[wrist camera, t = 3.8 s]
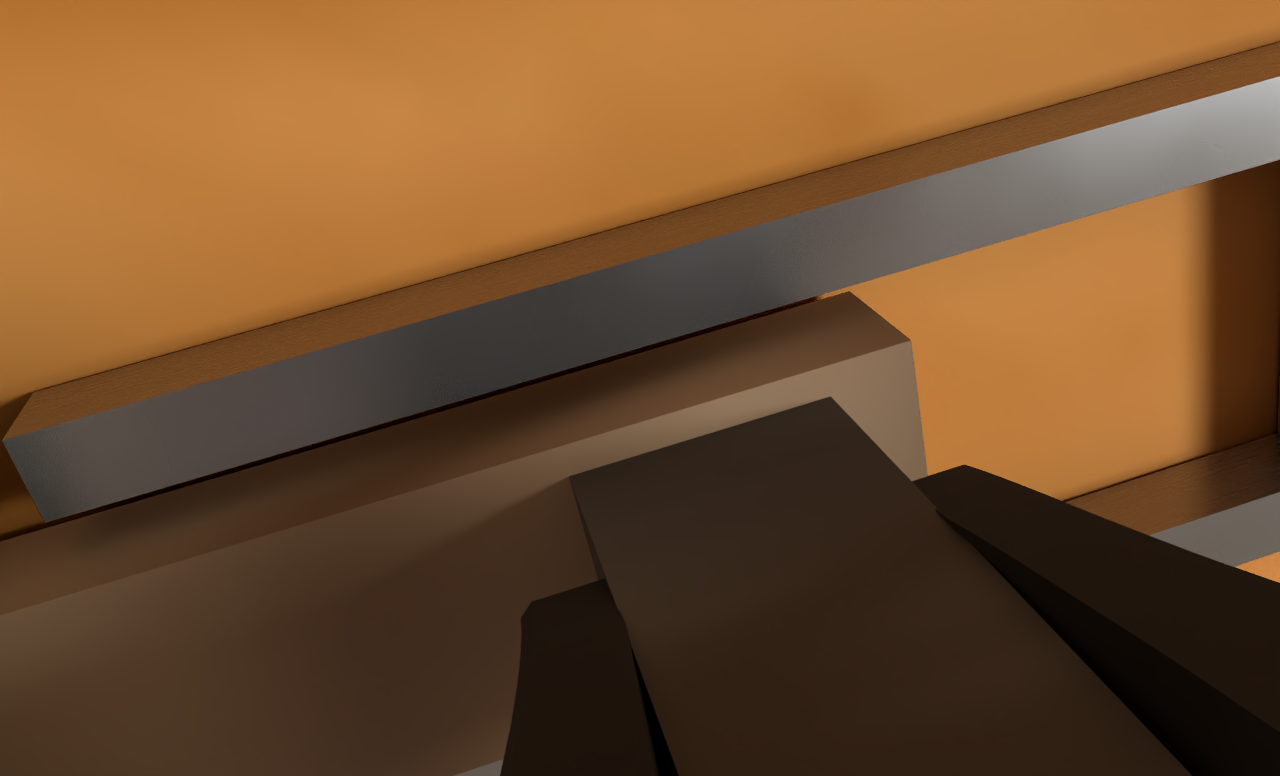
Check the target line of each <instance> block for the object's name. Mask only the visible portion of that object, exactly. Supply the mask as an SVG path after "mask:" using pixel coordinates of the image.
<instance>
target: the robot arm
mask: <svg viewBox="0 0 1280 776" xmlns="http://www.w3.org/2000/svg"><path fill="white" fill-rule="evenodd" d="M912 482H913V483H914V484H915V485H916V486H917V487H918V488H919V490H920V491H921V492H922V493H923V494H924V495H925V496H926V497H927V498H928V499H929V500H930V501H931V502H932V503H933V504H934V505H935V506H936V507H937V508H938V509H935V510H936V511H937V513H938V514H939V515H940V516H941V517H942V518H943V519H944V520H945V521H946V522H947V523H948V524H949V525H950V526H951V527H952V528H953V529H954V530H955V531H956V532H958V533H959V534H960V535H961V536H962V537H963V538H965V539H966V540H967V541H968V542H969V543H971V544H972V545H973V546H974V547H975V548H976V549H977V550H978V551H979V552H980V554H981V555H982V556H983V557H984V558H985V559H986V560H987V561H988V562H989V563H990V564H991V565H992V566H993V567H994V568H995V569H996V570H997V571H998V572H999V573H1000V574H1001V576H1002V577H1003V578H1004V579H1005V580H1006V581H1007V582H1008V583H1009V584H1010V585H1011V586H1012V587H1013V588H1014V589H1015V590H1016V591H1017V592H1018V593H1019V594H1020V595H1021V597H1022V598H1023V599H1024V600H1025V601H1026V602H1027V603H1028V604H1029V605H1030V606H1031V607H1032V608H1033V609H1034V610H1035V611H1036V612H1037V613H1038V614H1039V615H1040V616H1041V618H1042V619H1043V620H1044V621H1045V622H1046V623H1047V624H1048V625H1049V626H1050V627H1051V628H1052V629H1053V630H1054V631H1055V632H1056V633H1057V634H1058V635H1059V636H1060V637H1061V639H1062V640H1063V641H1064V642H1065V643H1066V644H1067V645H1068V646H1069V647H1070V648H1071V649H1072V650H1073V651H1074V652H1075V653H1076V654H1077V655H1078V656H1079V657H1080V658H1081V659H1082V661H1083V662H1084V663H1085V664H1086V665H1087V666H1088V667H1089V668H1090V669H1091V670H1092V671H1093V672H1094V673H1095V674H1096V675H1097V676H1098V677H1099V678H1100V679H1101V680H1102V682H1103V683H1104V684H1105V685H1106V686H1107V687H1108V688H1109V689H1110V690H1111V691H1112V692H1113V693H1114V694H1115V695H1116V696H1117V697H1118V698H1119V699H1120V700H1121V701H1122V703H1123V704H1124V705H1125V706H1126V707H1127V708H1128V709H1129V710H1130V711H1131V712H1132V713H1133V714H1134V715H1135V716H1136V717H1137V718H1138V719H1139V720H1140V721H1141V722H1142V723H1143V725H1144V726H1145V727H1146V728H1147V729H1148V730H1149V731H1150V732H1151V733H1152V734H1153V735H1154V736H1155V737H1156V738H1157V739H1158V740H1159V741H1160V742H1161V743H1162V744H1163V746H1164V747H1165V748H1166V749H1167V750H1168V751H1169V752H1170V753H1171V754H1172V755H1173V756H1174V757H1175V758H1176V759H1177V760H1178V761H1179V762H1180V763H1181V764H1182V765H1183V767H1184V768H1185V769H1186V770H1187V771H1188V772H1189V773H1190V774H1191V775H1192V776H1280V583H1278V582H1275V581H1272V580H1269V579H1267V578H1264V577H1261V576H1258V575H1255V574H1252V573H1250V572H1247V571H1244V570H1241V569H1238V568H1235V567H1232V566H1230V565H1227V564H1224V563H1221V562H1218V561H1216V560H1213V559H1210V558H1208V557H1205V556H1202V555H1199V554H1197V553H1194V552H1191V551H1188V550H1186V549H1183V548H1181V547H1178V546H1175V545H1173V544H1170V543H1167V542H1165V541H1162V540H1159V539H1157V538H1154V537H1152V536H1149V535H1146V534H1144V533H1141V532H1139V531H1136V530H1134V529H1131V528H1128V527H1126V526H1123V525H1121V524H1118V523H1116V522H1113V521H1110V520H1108V519H1105V518H1103V517H1100V516H1098V515H1095V514H1093V513H1090V512H1088V511H1085V510H1083V509H1080V508H1078V507H1075V506H1073V505H1070V504H1068V503H1065V502H1063V501H1060V500H1058V499H1055V498H1053V497H1050V496H1048V495H1045V494H1043V493H1040V492H1038V491H1035V490H1032V489H1030V488H1027V487H1025V486H1022V485H1020V484H1017V483H1015V482H1012V481H1009V480H1007V479H1004V478H1002V477H999V476H996V475H993V474H991V473H988V472H985V471H982V470H979V469H976V468H973V467H970V466H967V465H961V466H958V467H955V468H952V469H949V470H946V471H942V472H939V473H936V474H933V475H930V476H927V477H923V478H920V479H917V480H914V481H912ZM500 776H666V772H665V769H664V765H663V761H662V758H661V754H660V750H659V747H658V743H657V739H656V736H655V732H654V729H653V725H652V721H651V718H650V714H649V710H648V707H647V703H646V699H645V696H644V692H643V688H642V685H641V681H640V677H639V674H638V670H637V666H636V663H635V659H634V656H633V652H632V648H631V645H630V641H629V636H628V631H627V628H626V624H625V622H624V620H623V617H622V615H621V612H620V610H619V611H618V609H617V606H616V604H615V601H614V599H613V597H612V595H611V592H610V590H609V588H608V585H607V583H606V581H605V579H602V580H599V581H595V582H592V583H589V584H586V585H583V586H580V587H576V588H573V589H570V590H567V591H564V592H561V593H557V594H554V595H551V596H548V597H545V598H542V599H539V600H535V601H532V602H531V603H530V604H529V606H528V608H527V609H526V611H525V612H524V614H523V615H522V617H521V653H520V665H519V674H518V682H517V689H516V695H515V702H514V708H513V714H512V721H511V726H510V731H509V736H508V740H507V745H506V750H505V754H504V759H503V764H502V768H501V773H500Z"/></svg>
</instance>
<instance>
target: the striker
mask: <svg viewBox="0 0 1280 776" xmlns="http://www.w3.org/2000/svg"><path fill="white" fill-rule="evenodd" d="M927 476H928V474H927V466H926V458H925V450H924V442H923V433H922V425H921V417H920V409H919V401H918V392H917V384H916V376H915V368H914V360H913V352H912V343H911V340H910V339H909V338H908V337H906V336H905V335H904V334H903V333H901V332H900V331H899V330H897V329H896V328H895V327H894V326H892V325H891V324H890V323H889V322H887V321H886V320H885V319H884V318H882V317H881V316H880V315H879V314H877V313H876V312H875V311H874V310H872V309H871V308H870V307H869V306H867V305H866V304H865V303H864V302H862V301H861V300H860V299H859V298H857V297H856V296H855V295H854V294H852V293H851V292H850V291H849V292H845V293H842V294H838V295H835V296H832V297H828V298H825V299H821V300H818V301H815V302H811V303H808V304H805V305H801V306H798V307H794V308H791V309H788V310H784V311H781V312H777V313H774V314H771V315H767V316H764V317H760V318H757V319H754V320H750V321H747V322H743V323H740V324H737V325H733V326H730V327H727V328H723V329H720V330H716V331H713V332H710V333H706V334H703V335H699V336H696V337H693V338H689V339H686V340H682V341H679V342H676V343H672V344H669V345H665V346H662V347H659V348H655V349H652V350H648V351H645V352H642V353H638V354H635V355H632V356H628V357H625V358H621V359H618V360H615V361H611V362H608V363H604V364H601V365H598V366H594V367H591V368H587V369H584V370H581V371H577V372H574V373H570V374H567V375H564V376H560V377H557V378H553V379H550V380H547V381H543V382H540V383H537V384H533V385H530V386H526V387H523V388H520V389H516V390H513V391H509V392H506V393H503V394H499V395H496V396H492V397H489V398H486V399H482V400H479V401H475V402H472V403H469V404H465V405H462V406H459V407H455V408H452V409H448V410H445V411H442V412H438V413H435V414H431V415H428V416H425V417H421V418H418V419H414V420H411V421H408V422H404V423H401V424H397V425H394V426H391V427H387V428H384V429H380V430H377V431H374V432H370V433H367V434H364V435H360V436H357V437H353V438H350V439H347V440H343V441H340V442H336V443H333V444H330V445H326V446H323V447H319V448H316V449H313V450H309V451H306V452H302V453H299V454H296V455H292V456H289V457H285V458H282V459H279V460H275V461H272V462H269V463H265V464H262V465H258V466H255V467H252V468H248V469H245V470H241V471H238V472H235V473H231V474H228V475H224V476H221V477H218V478H214V479H211V480H207V481H204V482H201V483H197V484H194V485H191V486H187V487H184V488H180V489H177V490H174V491H170V492H167V493H163V494H160V495H157V496H153V497H150V498H146V499H143V500H140V501H136V502H133V503H129V504H126V505H123V506H119V507H116V508H112V509H109V510H106V511H102V512H99V513H96V514H92V515H89V516H85V517H82V518H79V519H75V520H72V521H68V522H65V523H62V524H58V525H55V526H51V527H48V528H45V529H41V530H38V531H34V532H31V533H28V534H24V535H21V536H17V537H14V538H11V539H7V540H4V541H1V542H0V776H454V775H457V774H460V773H463V772H466V771H469V770H472V769H475V768H478V767H481V766H484V765H487V764H490V763H493V762H496V761H499V760H502V759H504V754H505V750H506V745H507V740H508V736H509V731H510V726H511V721H512V714H513V708H514V702H515V695H516V689H517V682H518V674H519V665H520V653H521V617H522V615H523V614H524V612H525V611H526V609H527V608H528V606H529V604H530V603H531V602H532V601H535V600H539V599H542V598H545V597H548V596H551V595H554V594H557V593H561V592H564V591H567V590H570V589H573V588H576V587H580V586H583V585H586V584H589V583H592V582H595V581H599V580H602V579H605V581H606V583H607V585H608V588H609V590H610V592H611V595H612V597H613V599H614V601H615V604H616V606H617V609H618V611H619V610H620V612H621V615H622V617H623V620H624V622H625V624H626V628H627V631H628V636H629V641H630V645H631V648H632V652H633V656H634V659H635V663H636V666H637V670H638V674H639V677H640V681H641V685H642V688H643V692H644V696H645V699H646V703H647V707H648V710H649V714H650V718H651V721H652V725H653V729H654V732H655V736H656V739H657V743H658V747H659V750H660V754H661V758H662V761H663V765H664V769H665V772H666V776H1192V775H1191V774H1190V773H1189V772H1188V771H1187V770H1186V769H1185V768H1184V767H1183V765H1182V764H1181V763H1180V762H1179V761H1178V760H1177V759H1176V758H1175V757H1174V756H1173V755H1172V754H1171V753H1170V752H1169V751H1168V750H1167V749H1166V748H1165V747H1164V746H1163V744H1162V743H1161V742H1160V741H1159V740H1158V739H1157V738H1156V737H1155V736H1154V735H1153V734H1152V733H1151V732H1150V731H1149V730H1148V729H1147V728H1146V727H1145V726H1144V725H1143V723H1142V722H1141V721H1140V720H1139V719H1138V718H1137V717H1136V716H1135V715H1134V714H1133V713H1132V712H1131V711H1130V710H1129V709H1128V708H1127V707H1126V706H1125V705H1124V704H1123V703H1122V701H1121V700H1120V699H1119V698H1118V697H1117V696H1116V695H1115V694H1114V693H1113V692H1112V691H1111V690H1110V689H1109V688H1108V687H1107V686H1106V685H1105V684H1104V683H1103V682H1102V680H1101V679H1100V678H1099V677H1098V676H1097V675H1096V674H1095V673H1094V672H1093V671H1092V670H1091V669H1090V668H1089V667H1088V666H1087V665H1086V664H1085V663H1084V662H1083V661H1082V659H1081V658H1080V657H1079V656H1078V655H1077V654H1076V653H1075V652H1074V651H1073V650H1072V649H1071V648H1070V647H1069V646H1068V645H1067V644H1066V643H1065V642H1064V641H1063V640H1062V639H1061V637H1060V636H1059V635H1058V634H1057V633H1056V632H1055V631H1054V630H1053V629H1052V628H1051V627H1050V626H1049V625H1048V624H1047V623H1046V622H1045V621H1044V620H1043V619H1042V618H1041V616H1040V615H1039V614H1038V613H1037V612H1036V611H1035V610H1034V609H1033V608H1032V607H1031V606H1030V605H1029V604H1028V603H1027V602H1026V601H1025V600H1024V599H1023V598H1022V597H1021V595H1020V594H1019V593H1018V592H1017V591H1016V590H1015V589H1014V588H1013V587H1012V586H1011V585H1010V584H1009V583H1008V582H1007V581H1006V580H1005V579H1004V578H1003V577H1002V576H1001V574H1000V573H999V572H998V571H997V570H996V569H995V568H994V567H993V566H992V565H991V564H990V563H989V562H988V561H987V560H986V559H985V558H984V557H983V556H982V555H981V554H980V552H979V551H978V550H977V549H976V548H975V547H974V546H973V545H972V544H971V543H969V542H968V541H967V540H966V539H965V538H963V537H962V536H961V535H960V534H959V533H958V532H956V531H955V530H954V529H953V528H952V527H951V526H950V525H949V524H948V523H947V522H946V521H945V520H944V519H943V518H942V517H941V516H940V515H939V514H938V513H937V511H936V510H935V509H938V508H937V507H936V506H935V505H934V504H933V503H932V502H931V501H930V500H929V499H928V498H927V497H926V496H925V495H924V494H923V493H922V492H921V491H920V490H919V488H918V487H917V486H916V485H915V484H914V483H913V482H912V481H914V480H917V479H920V478H923V477H927Z"/></svg>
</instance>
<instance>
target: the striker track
mask: <svg viewBox="0 0 1280 776" xmlns="http://www.w3.org/2000/svg"><path fill="white" fill-rule="evenodd" d="M1277 160H1280V42H1278V43H1275V44H1271V45H1268V46H1264V47H1260V48H1257V49H1253V50H1250V51H1246V52H1243V53H1239V54H1236V55H1232V56H1228V57H1225V58H1221V59H1218V60H1214V61H1211V62H1207V63H1204V64H1200V65H1196V66H1193V67H1189V68H1186V69H1182V70H1179V71H1175V72H1172V73H1168V74H1164V75H1161V76H1157V77H1154V78H1150V79H1147V80H1143V81H1139V82H1136V83H1132V84H1129V85H1125V86H1122V87H1118V88H1115V89H1111V90H1107V91H1104V92H1100V93H1097V94H1093V95H1090V96H1086V97H1083V98H1079V99H1075V100H1072V101H1068V102H1065V103H1061V104H1058V105H1054V106H1051V107H1047V108H1043V109H1040V110H1036V111H1033V112H1029V113H1026V114H1022V115H1018V116H1015V117H1011V118H1008V119H1004V120H1001V121H997V122H994V123H990V124H986V125H983V126H979V127H976V128H972V129H969V130H965V131H962V132H958V133H954V134H951V135H947V136H944V137H940V138H937V139H933V140H930V141H926V142H922V143H919V144H915V145H912V146H908V147H905V148H901V149H898V150H894V151H890V152H887V153H883V154H880V155H876V156H873V157H869V158H865V159H862V160H858V161H855V162H851V163H848V164H844V165H841V166H837V167H833V168H830V169H826V170H823V171H819V172H816V173H812V174H809V175H805V176H801V177H798V178H794V179H791V180H787V181H784V182H780V183H777V184H773V185H769V186H766V187H762V188H759V189H755V190H752V191H748V192H745V193H741V194H737V195H734V196H730V197H727V198H723V199H720V200H716V201H712V202H709V203H705V204H702V205H698V206H695V207H691V208H688V209H684V210H680V211H677V212H673V213H670V214H666V215H663V216H659V217H656V218H652V219H648V220H645V221H641V222H638V223H634V224H631V225H627V226H624V227H620V228H616V229H613V230H609V231H606V232H602V233H599V234H595V235H592V236H588V237H584V238H581V239H577V240H574V241H570V242H567V243H563V244H559V245H556V246H552V247H549V248H545V249H542V250H538V251H535V252H531V253H527V254H524V255H520V256H517V257H513V258H510V259H506V260H503V261H499V262H495V263H492V264H488V265H485V266H481V267H478V268H474V269H471V270H467V271H463V272H460V273H456V274H453V275H449V276H446V277H442V278H439V279H435V280H431V281H428V282H424V283H421V284H417V285H414V286H410V287H406V288H403V289H399V290H396V291H392V292H389V293H385V294H382V295H378V296H374V297H371V298H367V299H364V300H360V301H357V302H353V303H350V304H346V305H342V306H339V307H335V308H332V309H328V310H325V311H321V312H318V313H314V314H310V315H307V316H303V317H300V318H296V319H293V320H289V321H286V322H282V323H278V324H275V325H271V326H268V327H264V328H261V329H257V330H253V331H250V332H246V333H243V334H239V335H236V336H232V337H229V338H225V339H221V340H218V341H214V342H211V343H207V344H204V345H200V346H197V347H193V348H189V349H186V350H182V351H179V352H175V353H172V354H168V355H165V356H161V357H157V358H154V359H150V360H147V361H143V362H140V363H136V364H133V365H129V366H125V367H122V368H118V369H115V370H111V371H108V372H104V373H100V374H97V375H93V376H90V377H86V378H83V379H79V380H76V381H72V382H68V383H65V384H61V385H58V386H54V387H51V388H47V389H44V390H40V391H36V392H33V394H32V395H31V397H30V398H29V400H28V401H27V403H26V404H25V406H24V407H23V409H22V410H21V412H20V413H19V415H18V417H17V418H16V420H15V421H14V423H13V424H12V426H11V427H10V429H9V430H8V432H7V433H6V435H5V436H4V438H3V439H2V442H3V444H4V446H5V448H6V450H7V451H8V453H9V455H10V457H11V459H12V461H13V463H14V465H15V467H16V469H17V471H18V472H19V474H20V476H21V478H22V480H23V482H24V484H25V486H26V488H27V490H28V492H29V493H30V495H31V497H32V499H33V501H34V503H35V505H36V507H37V509H38V511H39V513H40V514H41V516H42V518H43V520H44V522H45V523H46V522H50V521H53V520H57V519H60V518H63V517H67V516H70V515H74V514H77V513H80V512H84V511H87V510H91V509H94V508H97V507H101V506H104V505H108V504H111V503H114V502H118V501H121V500H124V499H128V498H131V497H135V496H138V495H141V494H145V493H148V492H152V491H155V490H158V489H162V488H165V487H169V486H172V485H175V484H179V483H182V482H186V481H189V480H192V479H196V478H199V477H203V476H206V475H209V474H213V473H216V472H220V471H223V470H226V469H230V468H233V467H237V466H240V465H243V464H247V463H250V462H254V461H257V460H260V459H264V458H267V457H271V456H274V455H277V454H281V453H284V452H288V451H291V450H294V449H298V448H301V447H305V446H308V445H311V444H315V443H318V442H322V441H325V440H328V439H332V438H335V437H339V436H342V435H345V434H349V433H352V432H356V431H359V430H362V429H366V428H369V427H373V426H376V425H379V424H383V423H386V422H390V421H393V420H396V419H400V418H403V417H407V416H410V415H413V414H417V413H420V412H424V411H427V410H430V409H434V408H437V407H441V406H444V405H447V404H451V403H454V402H458V401H461V400H464V399H468V398H471V397H475V396H478V395H481V394H485V393H488V392H492V391H495V390H498V389H502V388H505V387H509V386H512V385H515V384H519V383H522V382H526V381H529V380H532V379H536V378H539V377H543V376H546V375H549V374H553V373H556V372H560V371H563V370H566V369H570V368H573V367H577V366H580V365H583V364H587V363H590V362H594V361H597V360H600V359H604V358H607V357H611V356H614V355H617V354H621V353H624V352H627V351H631V350H634V349H638V348H641V347H644V346H648V345H651V344H655V343H658V342H661V341H665V340H668V339H672V338H675V337H678V336H682V335H685V334H689V333H692V332H695V331H699V330H702V329H706V328H709V327H712V326H716V325H719V324H723V323H726V322H729V321H733V320H736V319H740V318H743V317H746V316H750V315H753V314H757V313H760V312H763V311H767V310H770V309H774V308H777V307H780V306H784V305H787V304H791V303H794V302H797V301H801V300H804V299H808V298H811V297H814V296H818V295H821V294H825V293H828V292H831V291H835V290H838V289H842V288H845V287H848V286H852V285H855V284H859V283H862V282H865V281H869V280H872V279H876V278H879V277H882V276H886V275H889V274H893V273H896V272H899V271H903V270H906V269H910V268H913V267H916V266H920V265H923V264H927V263H930V262H933V261H937V260H940V259H944V258H947V257H950V256H954V255H957V254H961V253H964V252H967V251H971V250H974V249H978V248H981V247H984V246H988V245H991V244H995V243H998V242H1001V241H1005V240H1008V239H1012V238H1015V237H1018V236H1022V235H1025V234H1029V233H1032V232H1035V231H1039V230H1042V229H1046V228H1049V227H1052V226H1056V225H1059V224H1063V223H1066V222H1069V221H1073V220H1076V219H1080V218H1083V217H1086V216H1090V215H1093V214H1097V213H1100V212H1103V211H1107V210H1110V209H1114V208H1117V207H1120V206H1124V205H1127V204H1130V203H1134V202H1137V201H1141V200H1144V199H1147V198H1151V197H1154V196H1158V195H1161V194H1164V193H1168V192H1171V191H1175V190H1178V189H1181V188H1185V187H1188V186H1192V185H1195V184H1198V183H1202V182H1205V181H1209V180H1212V179H1215V178H1219V177H1222V176H1226V175H1229V174H1232V173H1236V172H1239V171H1243V170H1246V169H1249V168H1253V167H1256V166H1260V165H1263V164H1266V163H1270V162H1273V161H1277ZM1065 503H1068V504H1070V505H1073V506H1075V507H1078V508H1080V509H1083V510H1085V511H1088V512H1090V513H1093V514H1095V515H1098V516H1100V517H1103V518H1105V519H1108V520H1110V521H1113V522H1116V523H1118V524H1121V525H1123V526H1126V527H1128V528H1131V529H1134V530H1136V531H1139V532H1141V533H1144V534H1146V535H1149V536H1152V537H1154V538H1157V539H1159V540H1162V541H1165V542H1167V543H1170V544H1173V545H1175V546H1178V547H1181V548H1183V549H1186V550H1188V551H1191V552H1194V553H1197V554H1199V555H1202V556H1205V557H1208V558H1210V559H1213V560H1216V561H1218V562H1221V563H1224V564H1227V565H1230V566H1232V567H1235V566H1238V565H1240V564H1243V563H1246V562H1249V561H1252V560H1255V559H1258V558H1261V557H1264V556H1267V555H1270V554H1273V553H1276V552H1279V551H1280V378H1279V410H1278V433H1276V434H1273V435H1270V436H1267V437H1264V438H1261V439H1258V440H1254V441H1251V442H1248V443H1245V444H1242V445H1239V446H1236V447H1233V448H1230V449H1227V450H1224V451H1221V452H1218V453H1214V454H1211V455H1208V456H1205V457H1202V458H1199V459H1196V460H1193V461H1190V462H1187V463H1184V464H1181V465H1178V466H1174V467H1171V468H1168V469H1165V470H1162V471H1159V472H1156V473H1153V474H1150V475H1147V476H1144V477H1141V478H1138V479H1134V480H1131V481H1128V482H1125V483H1122V484H1119V485H1116V486H1113V487H1110V488H1107V489H1104V490H1101V491H1098V492H1094V493H1091V494H1088V495H1085V496H1082V497H1079V498H1076V499H1073V500H1070V501H1067V502H1065ZM502 764H503V759H502V760H499V761H496V762H493V763H490V764H487V765H484V766H481V767H478V768H475V769H472V770H469V771H466V772H463V773H460V774H457V775H454V776H500V773H501V768H502Z"/></svg>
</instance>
